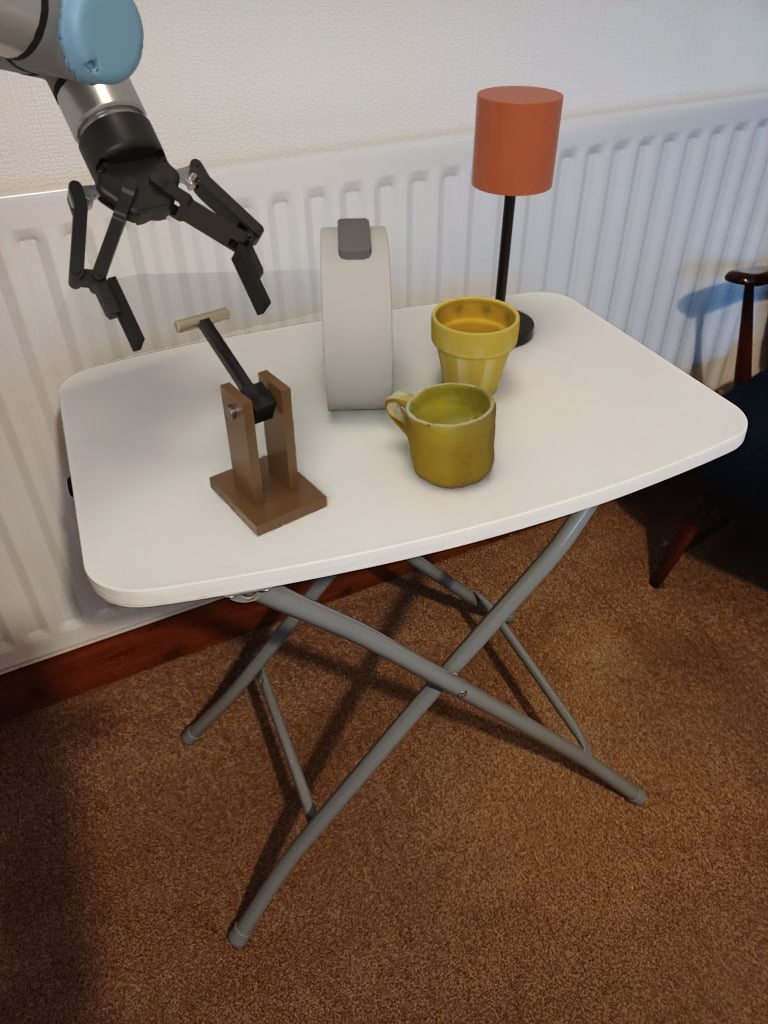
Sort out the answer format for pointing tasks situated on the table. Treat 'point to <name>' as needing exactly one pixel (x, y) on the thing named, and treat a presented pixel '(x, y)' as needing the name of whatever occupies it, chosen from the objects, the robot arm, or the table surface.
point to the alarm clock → (356, 314)
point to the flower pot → (474, 339)
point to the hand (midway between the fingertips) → (204, 327)
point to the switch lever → (230, 361)
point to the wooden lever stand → (264, 462)
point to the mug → (447, 431)
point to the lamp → (515, 159)
